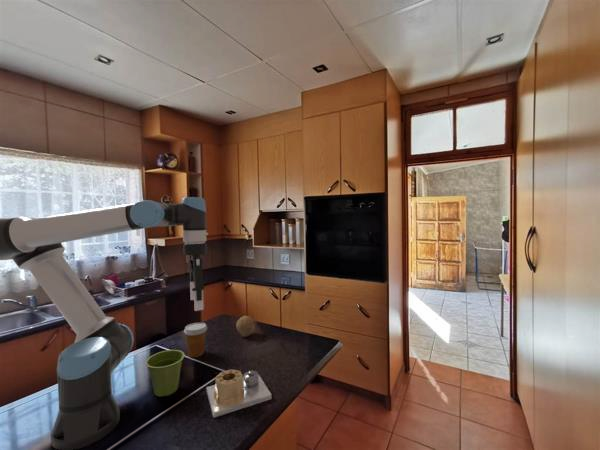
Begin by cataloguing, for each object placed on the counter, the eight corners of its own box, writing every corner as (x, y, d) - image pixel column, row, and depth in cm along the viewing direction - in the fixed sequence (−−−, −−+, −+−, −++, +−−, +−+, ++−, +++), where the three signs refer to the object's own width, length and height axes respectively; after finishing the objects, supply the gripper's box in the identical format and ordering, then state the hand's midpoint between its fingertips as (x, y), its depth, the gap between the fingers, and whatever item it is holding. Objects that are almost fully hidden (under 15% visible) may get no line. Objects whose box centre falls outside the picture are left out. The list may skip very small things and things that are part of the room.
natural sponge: (236, 333, 142) (236, 313, 142) (254, 331, 144) (254, 312, 143) (236, 340, 133) (235, 319, 133) (255, 338, 135) (254, 318, 134)
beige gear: (217, 408, 83) (217, 388, 83) (212, 391, 91) (212, 373, 91) (247, 398, 87) (246, 379, 87) (239, 383, 95) (239, 366, 95)
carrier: (213, 417, 81) (212, 397, 81) (206, 391, 94) (206, 373, 94) (271, 399, 89) (271, 380, 89) (257, 377, 102) (257, 360, 102)
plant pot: (138, 400, 90) (137, 366, 89) (161, 379, 101) (160, 348, 101) (172, 403, 88) (171, 368, 88) (192, 381, 100) (191, 350, 99)
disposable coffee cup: (179, 357, 118) (178, 329, 117) (194, 347, 127) (194, 321, 126) (198, 360, 114) (197, 331, 114) (212, 350, 123) (211, 323, 123)
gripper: (212, 244, 86) (214, 313, 86) (201, 240, 108) (203, 294, 109) (186, 246, 82) (188, 317, 83) (180, 241, 105) (182, 297, 105)
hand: (196, 304), depth 96 cm, fingers open, 13 cm apart
